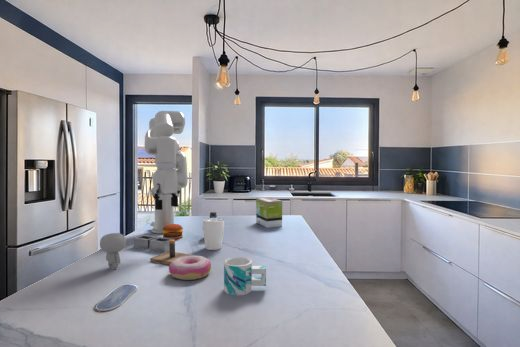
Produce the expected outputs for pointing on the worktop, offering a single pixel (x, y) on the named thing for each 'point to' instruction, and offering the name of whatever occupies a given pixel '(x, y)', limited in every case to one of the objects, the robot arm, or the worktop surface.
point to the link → (160, 244)
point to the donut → (190, 267)
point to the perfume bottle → (213, 215)
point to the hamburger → (173, 231)
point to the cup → (213, 233)
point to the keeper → (168, 255)
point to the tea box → (269, 212)
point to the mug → (242, 276)
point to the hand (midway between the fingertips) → (166, 207)
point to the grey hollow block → (143, 241)
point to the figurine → (113, 248)
